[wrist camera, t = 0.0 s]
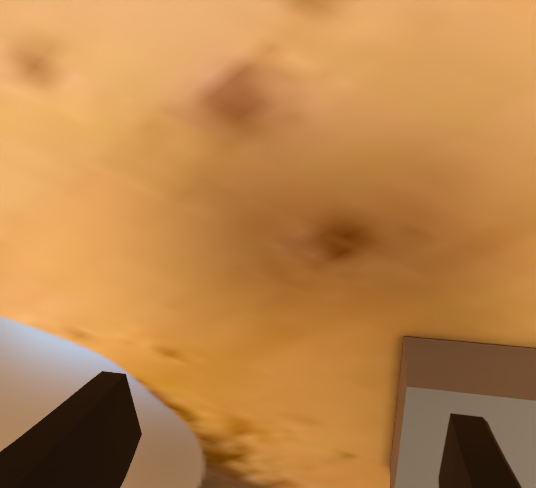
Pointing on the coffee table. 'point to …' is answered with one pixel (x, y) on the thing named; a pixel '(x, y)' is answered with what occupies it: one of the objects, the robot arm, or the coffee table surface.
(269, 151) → the coffee table surface
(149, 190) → the coffee table surface
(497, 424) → the gray block
